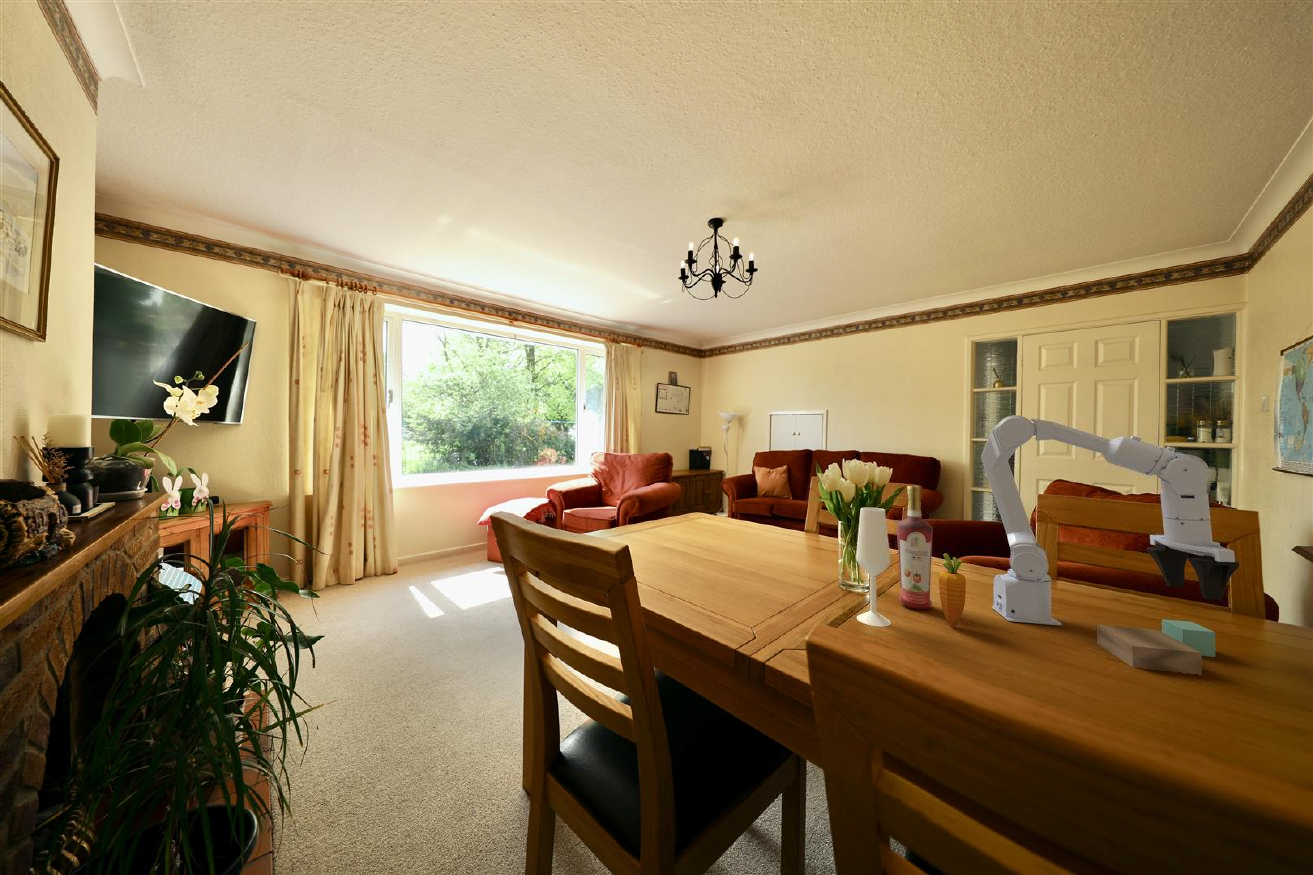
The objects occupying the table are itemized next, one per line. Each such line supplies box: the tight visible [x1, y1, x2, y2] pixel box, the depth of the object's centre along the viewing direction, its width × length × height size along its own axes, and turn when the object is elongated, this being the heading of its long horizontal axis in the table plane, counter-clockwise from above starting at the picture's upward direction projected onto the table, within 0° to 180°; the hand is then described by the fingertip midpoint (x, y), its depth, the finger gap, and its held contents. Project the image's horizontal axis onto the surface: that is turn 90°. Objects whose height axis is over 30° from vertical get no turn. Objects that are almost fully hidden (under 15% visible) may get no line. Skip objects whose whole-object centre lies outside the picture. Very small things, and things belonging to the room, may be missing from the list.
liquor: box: [896, 485, 934, 611], centre depth 103 cm, size 7×7×28 cm
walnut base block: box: [1096, 624, 1203, 676], centre depth 78 cm, size 9×9×4 cm
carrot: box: [938, 553, 967, 629], centre depth 91 cm, size 5×5×15 cm
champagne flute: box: [855, 506, 892, 628], centre depth 95 cm, size 7×7×24 cm
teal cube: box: [1161, 619, 1216, 658], centre depth 81 cm, size 4×4×4 cm
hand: (1193, 592), depth 81 cm, fingers open, 7 cm apart
